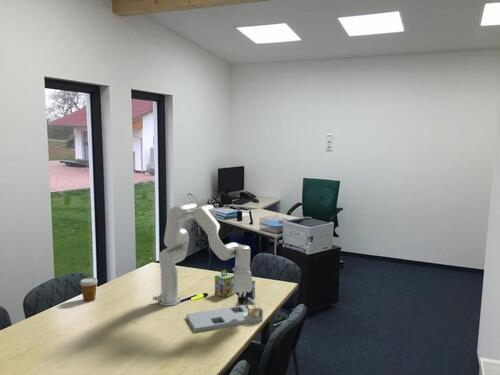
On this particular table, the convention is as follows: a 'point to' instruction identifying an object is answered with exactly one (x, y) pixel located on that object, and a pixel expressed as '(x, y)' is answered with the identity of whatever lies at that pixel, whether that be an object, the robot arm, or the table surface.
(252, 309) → the beech block
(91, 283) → the disposable coffee cup
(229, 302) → the table surface
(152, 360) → the table surface
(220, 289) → the chalk box
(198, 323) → the trap deck
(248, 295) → the small box
